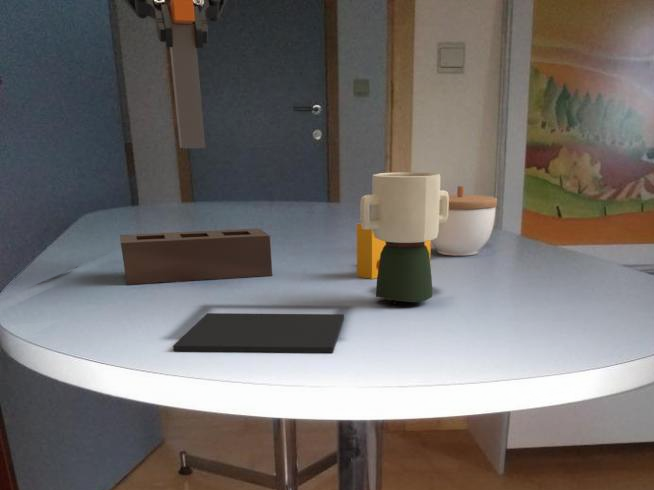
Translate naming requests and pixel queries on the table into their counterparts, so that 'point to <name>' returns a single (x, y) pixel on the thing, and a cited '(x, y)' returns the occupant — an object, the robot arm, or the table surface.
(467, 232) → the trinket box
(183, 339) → the mat
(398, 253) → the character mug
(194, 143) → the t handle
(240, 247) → the organizer
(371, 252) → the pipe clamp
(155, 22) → the robot arm
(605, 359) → the table surface
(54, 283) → the table surface
